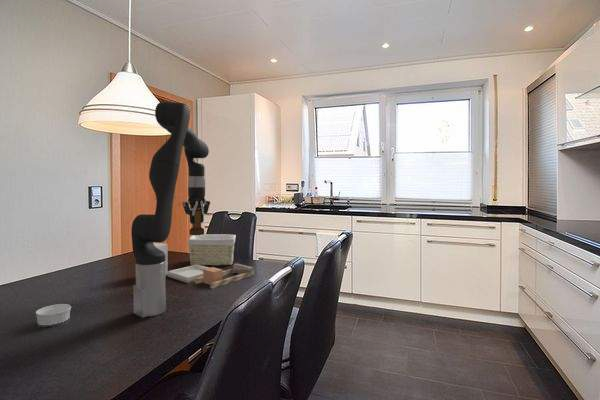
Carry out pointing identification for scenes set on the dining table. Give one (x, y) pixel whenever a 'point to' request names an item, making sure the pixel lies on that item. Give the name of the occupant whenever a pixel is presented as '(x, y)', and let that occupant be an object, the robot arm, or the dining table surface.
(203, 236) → the storage basket
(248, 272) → the rail
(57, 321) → the ramekin
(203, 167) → the robot arm
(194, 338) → the dining table surface
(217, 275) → the orange brown block
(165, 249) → the supplement box
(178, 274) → the tray
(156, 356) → the dining table surface
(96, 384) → the dining table surface
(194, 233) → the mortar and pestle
